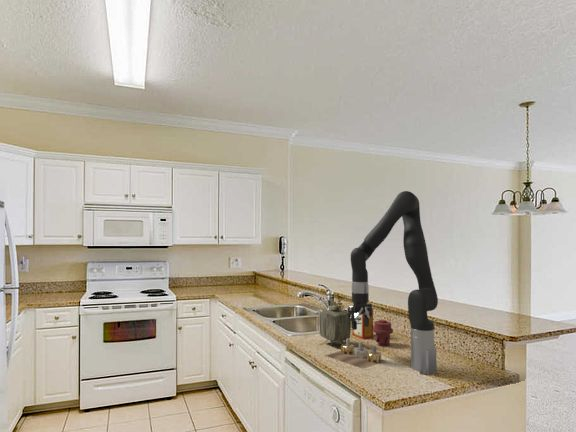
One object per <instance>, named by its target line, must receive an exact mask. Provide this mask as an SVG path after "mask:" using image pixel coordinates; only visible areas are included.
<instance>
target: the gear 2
mask: <svg viewBox="0 0 576 432" xmlns="http://www.w3.org/2000/svg"><path fill="white" fill-rule="evenodd" d="M381 359H382V352H378V351H376V354H372V350H371V351H368V352H367V361H370V362H372V363H373V362H376V363H378V364H380V363H379V362H381ZM381 363H382V362H381Z"/></svg>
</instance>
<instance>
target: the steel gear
mask: <svg viewBox="0 0 576 432" xmlns="http://www.w3.org/2000/svg"><path fill="white" fill-rule="evenodd" d="M367 352H369V351H368V349H367V348H366V347H362V350H359V347H355V349H354V356H355V357H356V358H367Z"/></svg>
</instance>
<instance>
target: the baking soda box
mask: <svg viewBox="0 0 576 432" xmlns="http://www.w3.org/2000/svg"><path fill="white" fill-rule="evenodd" d="M369 313H370V311H369ZM355 314H356V313H355ZM354 318H355V317H354ZM356 321H357V329H356V330H354V329H352V328H351V333H352V336H354V337H357V338H359V339H361V340H367V339H373V338H374V332H373V327H374V308H372V316H370V318H369V327H365V326H364V316H363V314H361V315H360V316H359V317H358V318H357V320H356Z"/></svg>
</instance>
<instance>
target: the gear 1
mask: <svg viewBox="0 0 576 432" xmlns="http://www.w3.org/2000/svg"><path fill="white" fill-rule="evenodd" d="M343 342H344V344H341V345H340V351H341V352H342V353H343V354H354V349H355V348H356V347H355V345H354V344H351V343H350V346H346V340H344V341H343Z"/></svg>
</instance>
